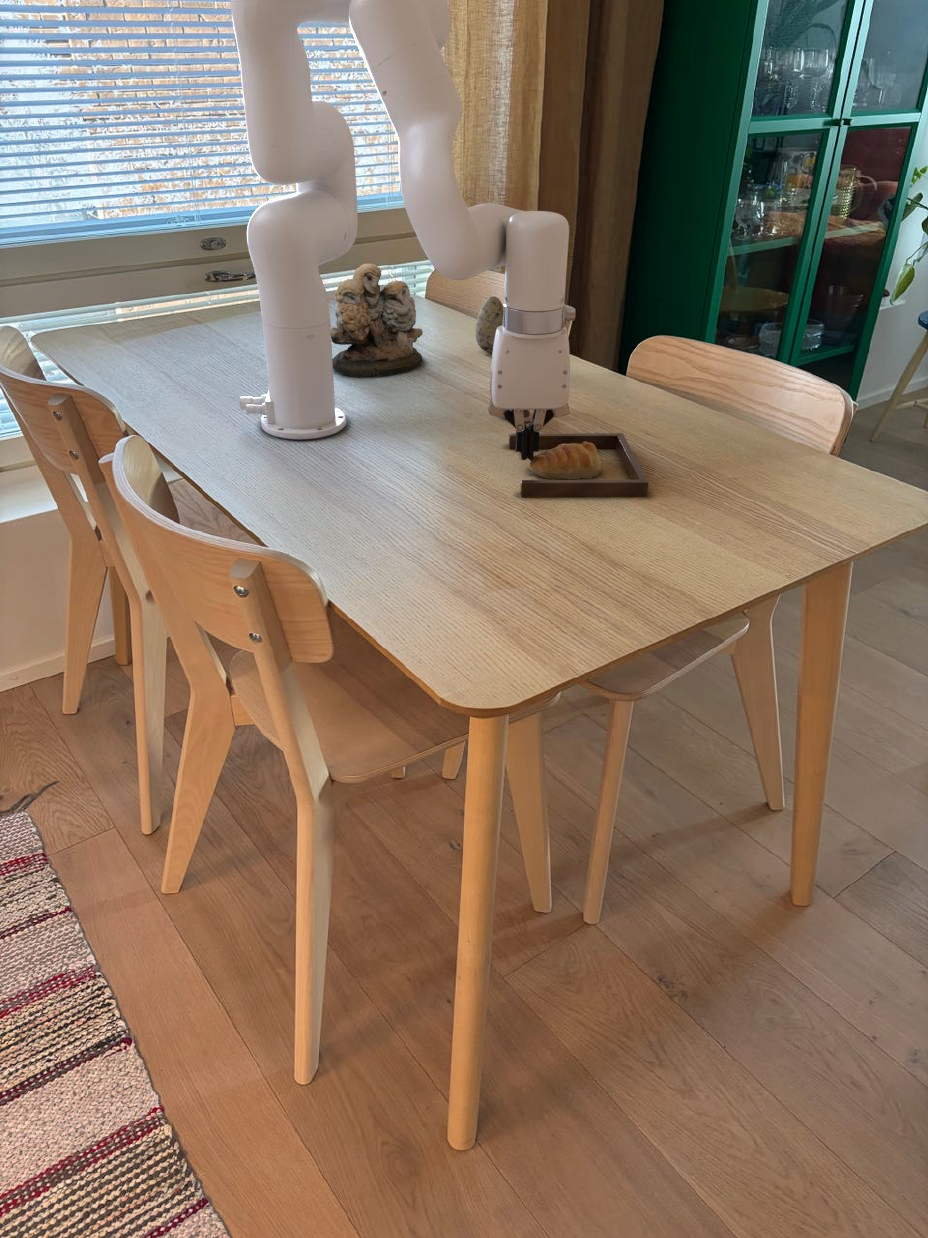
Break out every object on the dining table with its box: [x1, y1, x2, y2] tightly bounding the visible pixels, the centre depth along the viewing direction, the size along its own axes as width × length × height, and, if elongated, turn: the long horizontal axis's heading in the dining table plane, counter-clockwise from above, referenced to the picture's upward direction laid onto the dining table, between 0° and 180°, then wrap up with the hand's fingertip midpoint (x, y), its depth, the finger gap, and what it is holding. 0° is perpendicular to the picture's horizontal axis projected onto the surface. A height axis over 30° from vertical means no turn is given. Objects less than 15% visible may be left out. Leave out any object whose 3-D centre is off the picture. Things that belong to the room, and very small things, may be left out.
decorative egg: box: [474, 295, 504, 354], centre depth 173 cm, size 6×6×10 cm
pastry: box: [528, 441, 602, 480], centre depth 130 cm, size 9×7×4 cm
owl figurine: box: [331, 263, 424, 378], centre depth 163 cm, size 18×12×17 cm, turn 126°
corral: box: [508, 432, 649, 498], centre depth 131 cm, size 16×17×2 cm
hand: (526, 456), depth 129 cm, fingers closed
